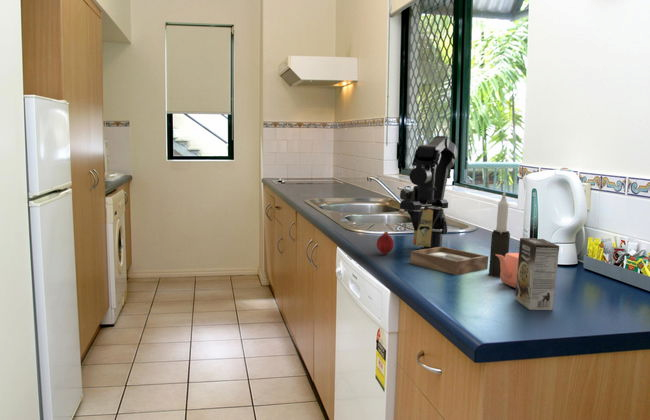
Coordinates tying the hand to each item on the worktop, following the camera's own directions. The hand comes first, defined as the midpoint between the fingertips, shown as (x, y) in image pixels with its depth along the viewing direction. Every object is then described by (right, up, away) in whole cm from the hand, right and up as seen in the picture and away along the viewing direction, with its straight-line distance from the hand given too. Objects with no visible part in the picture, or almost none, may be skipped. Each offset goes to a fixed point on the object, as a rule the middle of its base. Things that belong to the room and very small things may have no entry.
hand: (422, 229), depth 207 cm
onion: (-13, -9, +2) cm, 15 cm away
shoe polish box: (0, -5, +1) cm, 5 cm away
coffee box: (+19, -17, -54) cm, 59 cm away
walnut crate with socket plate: (+6, -11, -12) cm, 18 cm away
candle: (+19, -13, -22) cm, 32 cm away
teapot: (+22, -15, -36) cm, 44 cm away
